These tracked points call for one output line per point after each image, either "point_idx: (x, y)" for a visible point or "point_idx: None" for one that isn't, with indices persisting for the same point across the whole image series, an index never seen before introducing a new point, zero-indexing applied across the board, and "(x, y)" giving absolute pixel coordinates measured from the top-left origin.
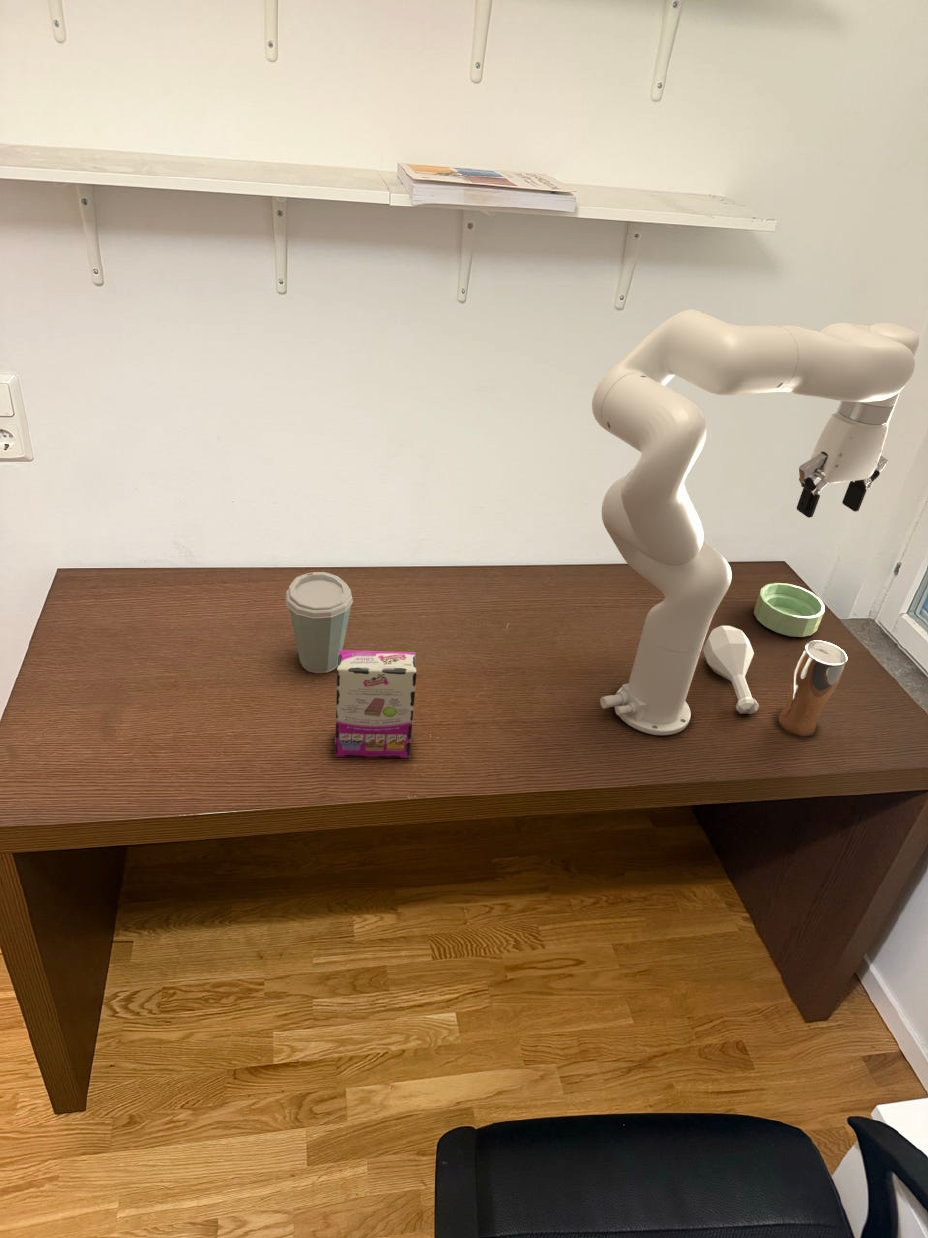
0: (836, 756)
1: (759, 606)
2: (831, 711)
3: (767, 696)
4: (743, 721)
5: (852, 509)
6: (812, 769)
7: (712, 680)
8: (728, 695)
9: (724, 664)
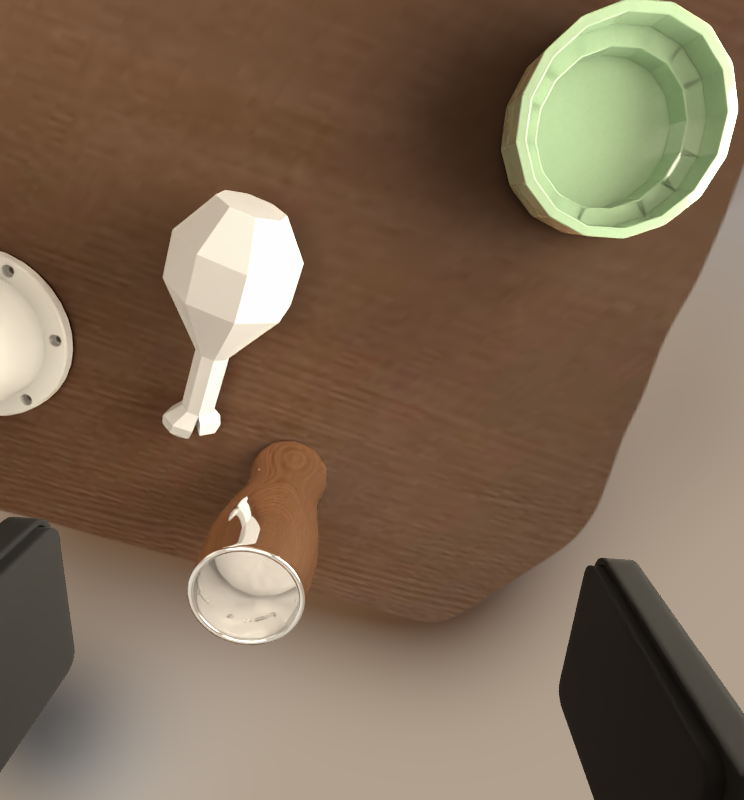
0: None
1: (522, 85)
2: (398, 470)
3: (293, 384)
4: None
5: (564, 674)
6: None
7: None
8: None
9: (182, 319)
